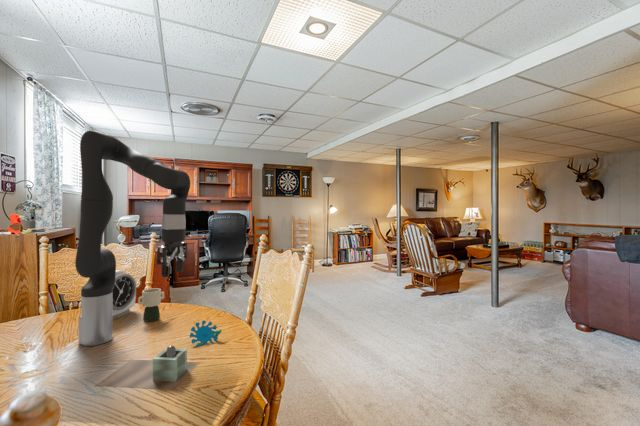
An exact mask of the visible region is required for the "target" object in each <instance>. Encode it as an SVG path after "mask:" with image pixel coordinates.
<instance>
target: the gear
mask: <svg viewBox="0 0 640 426" xmlns="http://www.w3.org/2000/svg"><path fill="white" fill-rule="evenodd" d="M206 323H207V320H202V321H201V323H200V322H199V321H198V322H195V325H194V326H192V327H191V328H190V331H191V332H190V334H189V338H192V339H191V344H195V343H196V342H197V344H196V345H195V346H196V347H198V348H199V347H201V346H202V344H203V343H204V344H203V345H204V346H206V345H208V342H209V344H210V345H214V344H215V343H214V342H217V341H218V339H219V335H220V334H222V332H223V330H222V329H218V327H217V325H216V324H214V325H213V326H212V324H213V322H212V321H209V322H208V324H206ZM200 324H201V326H200ZM205 324H206V325H205ZM196 328H197V329H196ZM217 329H218V330H217ZM194 333H195V334H194ZM212 339H213V340H212Z"/></svg>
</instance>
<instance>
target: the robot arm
mask: <svg viewBox="0 0 640 426" xmlns="http://www.w3.org/2000/svg"><path fill="white" fill-rule="evenodd" d="M79 145H80V147H79V148H80V149H79V150H80V151H79V152H80V163H81V193H80V194H81V196H80V197H81V198H80V199H81V200H80V220H79V221H80V223H79V236H78V242H77V243H78V244H77V248H76V249H77V250H76V255H75V262H74V264H75V269H76V272H77V274H78V275H80V276H81V277H82V278H85V279H87V278H88V280H87V282H86V283H85V284H84V285H83V286H82V288H81V291H80V302H81V303H80V305H81V306H80V309H81V310H80V313H81V315H80V316H78V344H79V345H82V346H84V347H92V346H98V345H102V344H106V343H108V342H110V341H111V340H113V338H114V335H113V333H114V331H113V330H114V325H113V324H114V323H113V322H114V321H113V320H114V319H113V286H114V283H115V275H116V270H117V262H116V261H117V260H116V256H115V254H114V253H113V252H112V251H111V250H110V249H108V248H101V247H102V239H103V235H104V232H105V230H106V228H107V226H108V224H109V222H110V221H111V218H112V216H113V208H114V207H113V206H114V205H113V204H114V196H113V192H112V191H111V188H110V185H109V184H108V183H107V180H106V178H105V176H104V173H103V164H102V163H103V162H102V161H103V160H104V161H105V160H106V161H108V160H109V161H113V162H117V163H122V164H123V165H125V166H127V167H129V169H130V170H132V171H133V172H134V173H136V174H139V175H140V176H142V177H144V178H147V179H149V180H151V181H152V182H153V183H155V184H156V185H158V186H159V187H161V188H162V189H165V190H170V194H169V196H167V197H165V198H163V202H162V217H161V231H160V232H161V235H160V236H161V239H160V240H161V241H162V242H164V244H163V245H161V246H160V245H158V247H157V254H156V265H158V266H161V270H160V271H161V277H162V278H169V277H170V263H171V261H172V260H173V259H174V258H175V259H176V265H175V268H176V269H175V271H176V272H179V273H181V272H183V271H184V261H185V259H188V242H187V241H186V232H187V231H186V230H187V229H186V228H187V227H186V225H187V223H186V222H187V220H186V202H187V199H188V195H189V192H190V188H191V179H190V176H189V174H188V173H187V172H186V171H184V170H179V169H175V168H171V167H168V166H166V165H165V164H164V163H162V162H161V161H159V160H157V159H155V158H152V157H151V156H148V155H146V154H144V153H141V152H139V151H137V150H134V149H133V148H131V147H130V146H128V145H127V144H125V143H124V142H122V141H121V140H119V139H118V138H117V137H115V136H114V135H111V134H108V133H104V132H101V131H97V130H91V129H90V130H87V131H85V132H84V133H83V134H82V136H81V138H80V144H79Z"/></svg>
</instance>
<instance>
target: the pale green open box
mask: <svg viewBox="0 0 640 426" xmlns="http://www.w3.org/2000/svg"><path fill="white" fill-rule="evenodd" d="M167 348H168V347H166V348H164V349H163V350H162V351H161V352H159V353H158V354H157V355H156V356H154V357H153V358H152V360H153V381H172V382H175V381H176V380H177V379H178V378H179V377H180V376H181V375H182V374H183V373H184V372H185V371H186V370H187V362H188V349H186V348H176V356H175V357H174V358H166V350H167Z"/></svg>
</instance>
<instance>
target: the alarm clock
mask: <svg viewBox="0 0 640 426" xmlns="http://www.w3.org/2000/svg"><path fill="white" fill-rule="evenodd" d="M135 279H136V278H134V277H133V276H132V275H131V274H129V273H127V272H126V271H125V270H121V269H120V270H119V269H118V270H117V269H116V275H115V283H114V286H113V320H115V319H118V318H121V317H122V316H125V315H127V314H130V311H131V310H130V309H132V308H133V307H135V305H136V298H137V283H136V280H135Z"/></svg>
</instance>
